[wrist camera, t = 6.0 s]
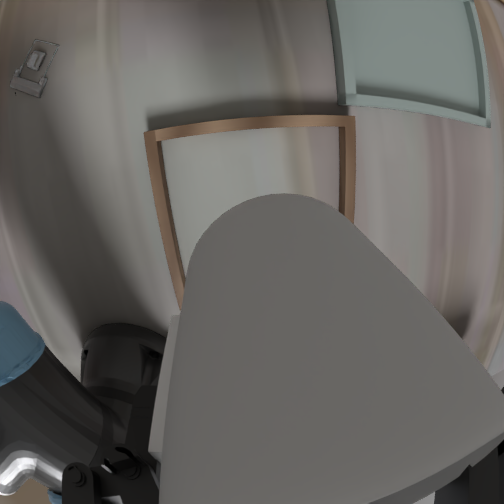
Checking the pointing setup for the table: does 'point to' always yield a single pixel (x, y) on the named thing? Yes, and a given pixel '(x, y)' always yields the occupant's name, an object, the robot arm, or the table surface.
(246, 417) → the mug
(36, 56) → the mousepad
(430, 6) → the tray
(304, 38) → the table surface
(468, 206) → the table surface
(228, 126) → the frame
